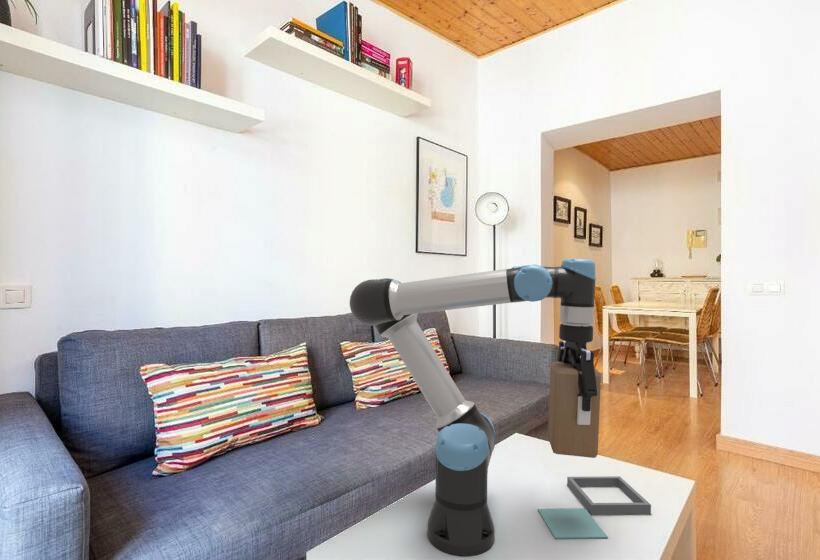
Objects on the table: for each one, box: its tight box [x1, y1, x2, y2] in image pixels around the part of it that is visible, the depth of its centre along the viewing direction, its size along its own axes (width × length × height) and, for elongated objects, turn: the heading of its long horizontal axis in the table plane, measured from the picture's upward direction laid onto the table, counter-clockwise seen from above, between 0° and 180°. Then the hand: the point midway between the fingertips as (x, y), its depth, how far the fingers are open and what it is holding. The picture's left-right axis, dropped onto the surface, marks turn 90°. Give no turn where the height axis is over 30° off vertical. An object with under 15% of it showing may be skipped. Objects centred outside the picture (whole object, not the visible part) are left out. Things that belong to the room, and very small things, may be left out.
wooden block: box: [547, 360, 602, 459], centre depth 105 cm, size 10×10×20 cm
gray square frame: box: [566, 475, 652, 516], centre depth 116 cm, size 15×15×2 cm
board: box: [537, 507, 609, 540], centre depth 105 cm, size 12×12×1 cm
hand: (572, 415), depth 105 cm, fingers closed on wooden block, 11 cm apart
